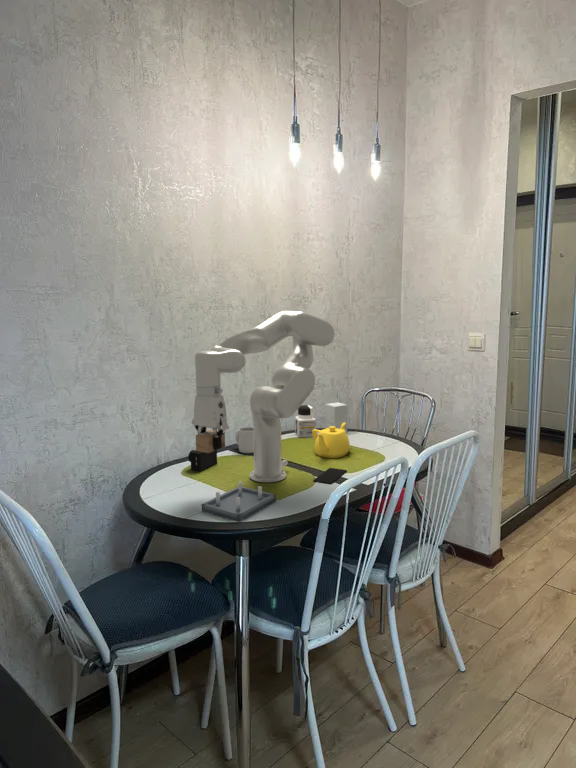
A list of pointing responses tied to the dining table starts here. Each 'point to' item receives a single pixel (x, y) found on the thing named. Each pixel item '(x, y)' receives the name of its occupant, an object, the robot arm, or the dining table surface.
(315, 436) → the teapot
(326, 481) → the smartphone
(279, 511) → the dining table surface
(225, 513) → the tray
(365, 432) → the dining table surface
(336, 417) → the supplement box
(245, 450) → the cup
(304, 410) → the container
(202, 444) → the labeled cardboard box
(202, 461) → the digital camera
